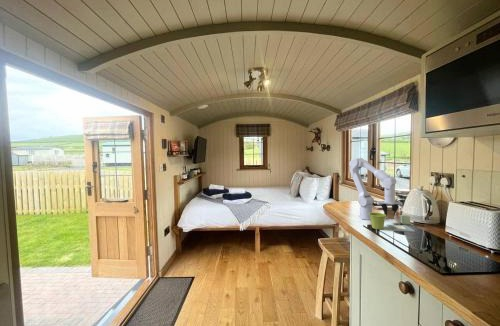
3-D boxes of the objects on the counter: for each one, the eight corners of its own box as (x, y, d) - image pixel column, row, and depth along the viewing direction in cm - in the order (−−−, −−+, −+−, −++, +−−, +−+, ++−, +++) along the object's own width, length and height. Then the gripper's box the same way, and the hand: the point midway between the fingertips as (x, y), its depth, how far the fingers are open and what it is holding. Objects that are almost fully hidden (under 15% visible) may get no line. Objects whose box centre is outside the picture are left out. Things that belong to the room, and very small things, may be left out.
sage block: (400, 222, 148) (400, 215, 148) (407, 222, 148) (407, 215, 148) (403, 224, 145) (403, 216, 144) (410, 224, 144) (410, 216, 144)
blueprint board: (386, 225, 143) (386, 224, 142) (405, 226, 140) (405, 225, 140) (394, 231, 132) (394, 229, 132) (414, 231, 130) (414, 230, 129)
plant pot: (365, 227, 140) (365, 213, 140) (375, 225, 144) (375, 211, 144) (379, 231, 132) (379, 217, 131) (389, 229, 136) (389, 215, 135)
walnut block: (385, 217, 149) (385, 209, 148) (391, 217, 148) (391, 209, 148) (387, 218, 145) (387, 211, 144) (394, 218, 144) (394, 211, 144)
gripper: (379, 196, 143) (379, 216, 144) (404, 196, 140) (404, 217, 141) (375, 194, 150) (375, 214, 151) (399, 194, 147) (399, 214, 148)
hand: (389, 215), depth 146 cm, fingers closed on walnut block, 4 cm apart
